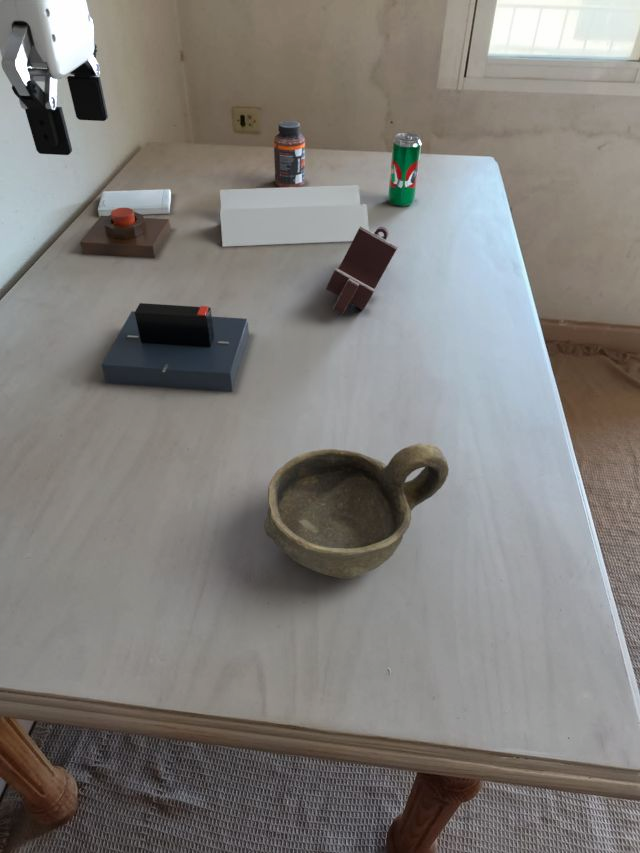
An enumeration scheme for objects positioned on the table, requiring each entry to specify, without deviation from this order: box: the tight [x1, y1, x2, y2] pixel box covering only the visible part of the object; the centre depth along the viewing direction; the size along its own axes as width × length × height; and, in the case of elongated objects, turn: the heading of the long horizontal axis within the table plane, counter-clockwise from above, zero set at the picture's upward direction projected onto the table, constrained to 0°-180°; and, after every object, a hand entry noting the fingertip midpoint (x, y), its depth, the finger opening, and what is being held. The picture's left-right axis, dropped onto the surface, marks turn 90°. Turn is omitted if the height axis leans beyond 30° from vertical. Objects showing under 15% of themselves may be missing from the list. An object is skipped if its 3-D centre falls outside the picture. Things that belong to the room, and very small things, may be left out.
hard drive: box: [97, 188, 172, 218], centre depth 116 cm, size 2×8×12 cm
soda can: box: [387, 132, 422, 208], centre depth 115 cm, size 5×5×12 cm
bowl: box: [264, 442, 449, 580], centre depth 59 cm, size 14×18×10 cm
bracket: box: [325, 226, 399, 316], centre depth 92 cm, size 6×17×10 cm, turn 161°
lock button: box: [111, 208, 135, 226], centre depth 103 cm, size 4×4×2 cm
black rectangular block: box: [134, 302, 214, 347], centre depth 79 cm, size 9×2×5 cm, turn 85°
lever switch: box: [100, 311, 250, 393], centre depth 81 cm, size 16×13×3 cm
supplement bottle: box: [273, 120, 306, 188], centre depth 121 cm, size 6×6×11 cm
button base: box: [79, 212, 172, 259], centre depth 105 cm, size 12×10×4 cm
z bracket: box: [219, 184, 370, 248], centre depth 109 cm, size 12×25×6 cm
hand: (75, 135), depth 62 cm, fingers open, 9 cm apart
